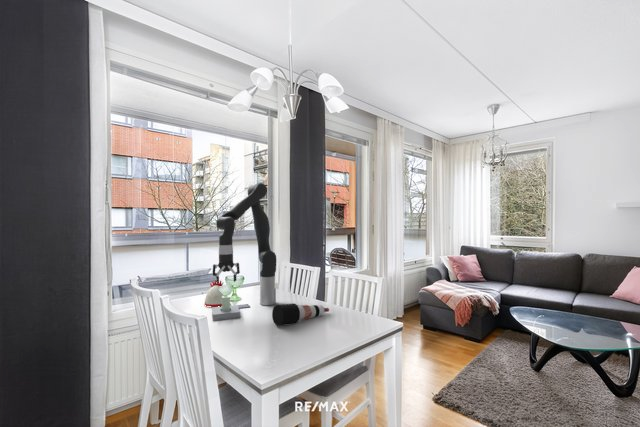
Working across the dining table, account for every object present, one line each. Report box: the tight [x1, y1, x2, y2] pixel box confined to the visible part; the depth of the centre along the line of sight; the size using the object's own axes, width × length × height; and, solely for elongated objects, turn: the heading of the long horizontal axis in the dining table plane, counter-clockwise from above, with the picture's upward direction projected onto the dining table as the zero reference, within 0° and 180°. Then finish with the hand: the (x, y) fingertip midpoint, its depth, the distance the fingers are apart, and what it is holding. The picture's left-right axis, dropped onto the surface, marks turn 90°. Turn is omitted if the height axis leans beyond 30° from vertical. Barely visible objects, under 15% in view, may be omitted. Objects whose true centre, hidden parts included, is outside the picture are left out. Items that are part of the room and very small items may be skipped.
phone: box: [237, 303, 251, 310], centre depth 188 cm, size 7×13×1 cm, turn 116°
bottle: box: [271, 303, 330, 327], centre depth 165 cm, size 10×34×10 cm, turn 131°
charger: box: [221, 294, 231, 311], centre depth 173 cm, size 4×4×10 cm
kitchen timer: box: [204, 279, 224, 308], centre depth 195 cm, size 14×14×15 cm
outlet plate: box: [211, 304, 241, 321], centre depth 173 cm, size 14×14×3 cm
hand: (226, 282), depth 173 cm, fingers open, 8 cm apart
